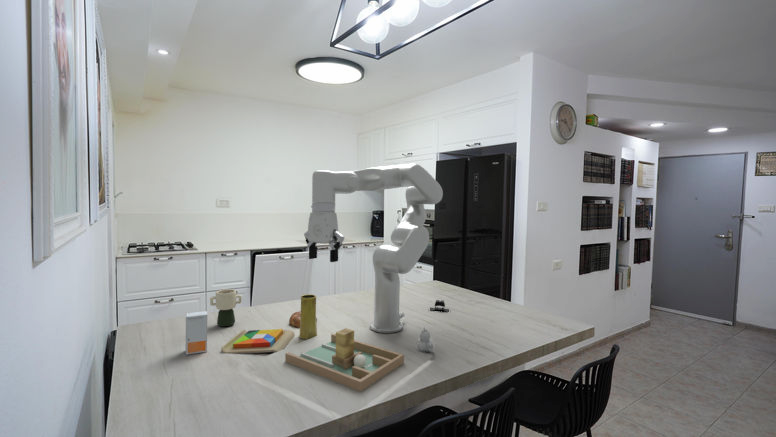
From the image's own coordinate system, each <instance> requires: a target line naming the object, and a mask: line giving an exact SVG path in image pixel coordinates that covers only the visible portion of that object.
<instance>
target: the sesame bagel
mask: <svg viewBox="0 0 776 437" xmlns="http://www.w3.org/2000/svg"><path fill="white" fill-rule="evenodd" d="M300 319H301V310H300V311H295V312H293V313H292V314H291V316H290V317H289V321H288V322H289V325H290V326H291V327H295V328H300ZM317 321H318V319H317V317H316V322H317Z"/></svg>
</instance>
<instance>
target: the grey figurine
mask: <svg viewBox="0 0 776 437" xmlns="http://www.w3.org/2000/svg"><path fill="white" fill-rule="evenodd" d="M430 338H431V335H430V332H429V330H428V329H426V328H425V327H423V330H421V332H420V334H419V340H417V343H416V348H417V350H418V351H419V352H421V353H424V354H425V353H428V352H433V351H434V342H433V341H432V340H430Z"/></svg>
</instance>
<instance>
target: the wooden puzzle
mask: <svg viewBox="0 0 776 437" xmlns="http://www.w3.org/2000/svg"><path fill="white" fill-rule="evenodd" d="M294 337H295V332H294V331H293V330H290V329H286V330H284V329H283V328H277V329H253V330H251V329H250V330H248V331H247V330H244V329H242V330H240V331H239V333H236V334H235V335H234V336H233V337H232V338H231V339H230V340H228V341H227V342H225V344H223V345H222V346H221V348H220V349H221V353H222V354H237V355H238V354H241V355H243V354H244V355H245V354H258V353H263V354H264V353H277V352H280V351H282V350H283V351H284V350H285V349H286V347H287V346H288V345H289V344H290V342H291V341H292V340H293V338H294Z"/></svg>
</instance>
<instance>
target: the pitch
mask: <svg viewBox="0 0 776 437" xmlns="http://www.w3.org/2000/svg"><path fill="white" fill-rule="evenodd" d="M358 352H362V355H363V356H365V358H366V365H365V366H364V367H363V368H360V367H357V366H355V365H353V366H352V367H350V368H348V369H346V370H345V369H343V367H342V366H339V365H336V364H334V363H332V356H333V355H335V354H336V333H331V336H330V341H329V342H327V343H321V345H320V346H318V347H316V348H313V349H311V350H309V351H306V352H300V354H299V355H297V354H294V353H291V352H286V353H285V356H284V358H285V363H288V364H290V365H292V366H295V367H296V368H297V367H298V368H300V369H302V370H305V371H308V372H310V373H312V374H315V375H318V376H320V377H322V378H325V379H328V380H330V381H333V382H335V383H337V384H340V385H342V386H345V387H348V388H350V389H352V390H355V391H357V392H360V393H362V392H363V391H364V390H365V389H367V388H369V387H370V386H372V385H373V384H375V383H376V382H378V381H379V380H381V379H382V378H384V377H385V376H387V375H388V374H389V373H391V372H393V371H394V370H396V369H398V368H399V367H400V366H401V365H403V364H404V363H405V354H402V353H399V352H396V351H392V350H389V349H387V348H382V347H379V346H376V345H373V344H369V343H366V342H362V341H359V340H356V339H354V353H355V354H356V353H358Z"/></svg>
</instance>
